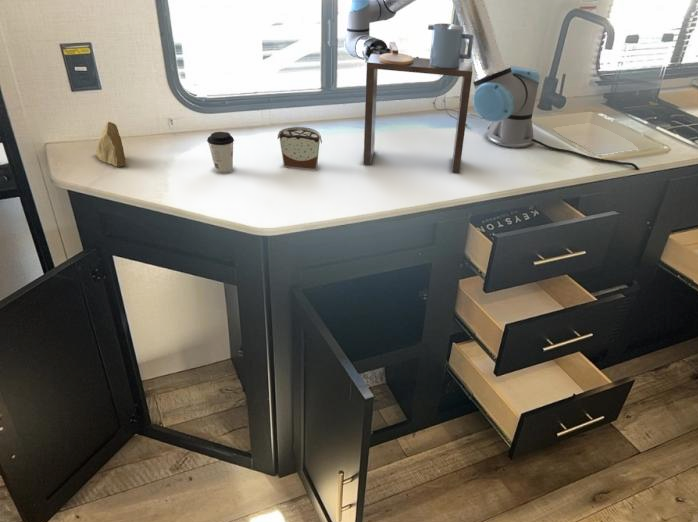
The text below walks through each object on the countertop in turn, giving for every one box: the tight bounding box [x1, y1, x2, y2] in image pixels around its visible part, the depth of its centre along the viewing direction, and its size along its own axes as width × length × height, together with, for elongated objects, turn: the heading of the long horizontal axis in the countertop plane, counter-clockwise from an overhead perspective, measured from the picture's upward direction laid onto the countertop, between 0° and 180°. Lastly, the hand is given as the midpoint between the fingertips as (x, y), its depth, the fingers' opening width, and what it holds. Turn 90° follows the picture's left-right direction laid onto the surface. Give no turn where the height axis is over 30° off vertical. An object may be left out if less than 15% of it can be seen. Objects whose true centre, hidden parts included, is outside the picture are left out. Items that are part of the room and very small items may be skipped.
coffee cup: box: [206, 131, 235, 175], centre depth 162 cm, size 7×7×10 cm
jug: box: [427, 22, 473, 68], centre depth 160 cm, size 12×8×10 cm, turn 86°
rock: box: [95, 121, 126, 168], centre depth 163 cm, size 11×9×10 cm
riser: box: [363, 54, 473, 174], centre depth 171 cm, size 28×10×28 cm, turn 86°
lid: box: [380, 41, 414, 65], centre depth 166 cm, size 9×19×2 cm, turn 6°
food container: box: [276, 126, 323, 171], centre depth 169 cm, size 12×6×10 cm, turn 84°
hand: (407, 62), depth 179 cm, fingers open, 13 cm apart
